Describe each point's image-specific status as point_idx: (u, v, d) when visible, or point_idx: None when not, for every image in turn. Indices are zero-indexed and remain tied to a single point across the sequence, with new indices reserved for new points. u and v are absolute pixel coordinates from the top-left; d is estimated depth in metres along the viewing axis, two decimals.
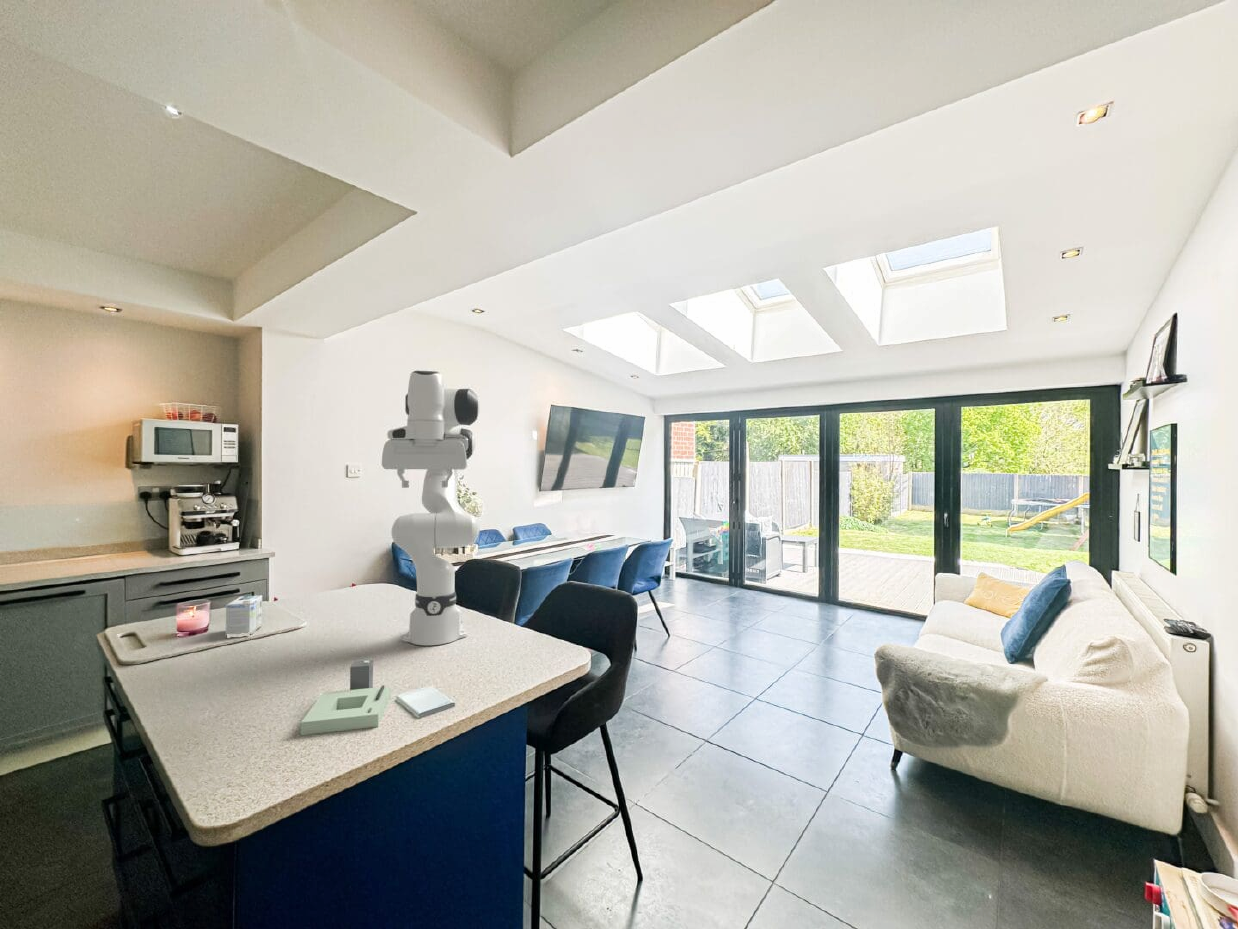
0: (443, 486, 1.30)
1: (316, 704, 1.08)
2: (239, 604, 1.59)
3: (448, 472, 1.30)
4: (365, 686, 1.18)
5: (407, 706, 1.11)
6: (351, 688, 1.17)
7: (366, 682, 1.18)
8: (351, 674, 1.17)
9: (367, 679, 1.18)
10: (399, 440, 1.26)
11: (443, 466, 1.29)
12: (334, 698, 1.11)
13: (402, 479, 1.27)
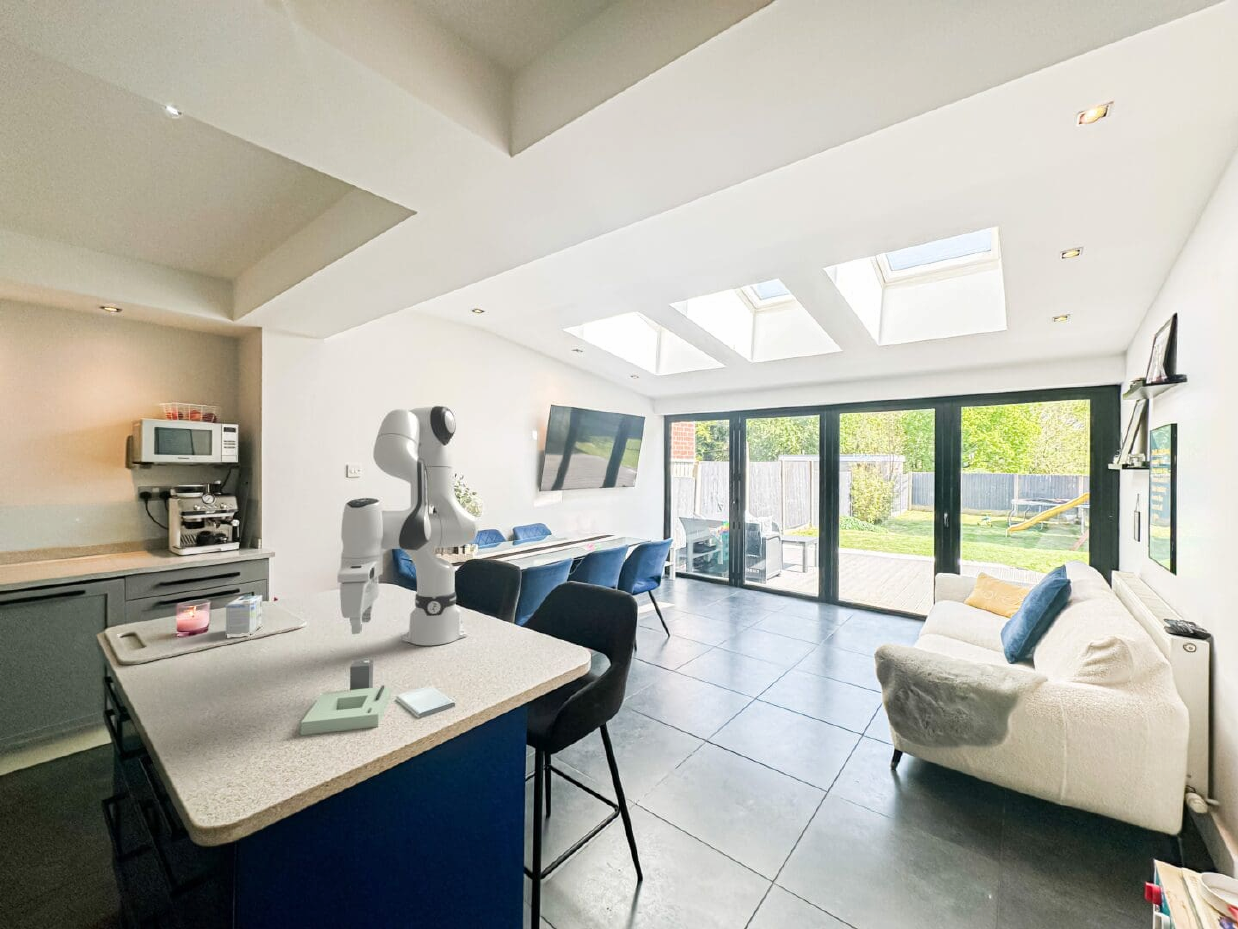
0: (369, 620, 1.24)
1: (316, 704, 1.08)
2: (239, 604, 1.59)
3: (371, 604, 1.25)
4: (365, 686, 1.18)
5: (407, 706, 1.11)
6: (351, 688, 1.17)
7: (366, 682, 1.18)
8: (351, 674, 1.17)
9: (367, 679, 1.18)
10: (369, 580, 1.15)
11: (374, 599, 1.24)
12: (334, 698, 1.11)
13: (360, 624, 1.14)
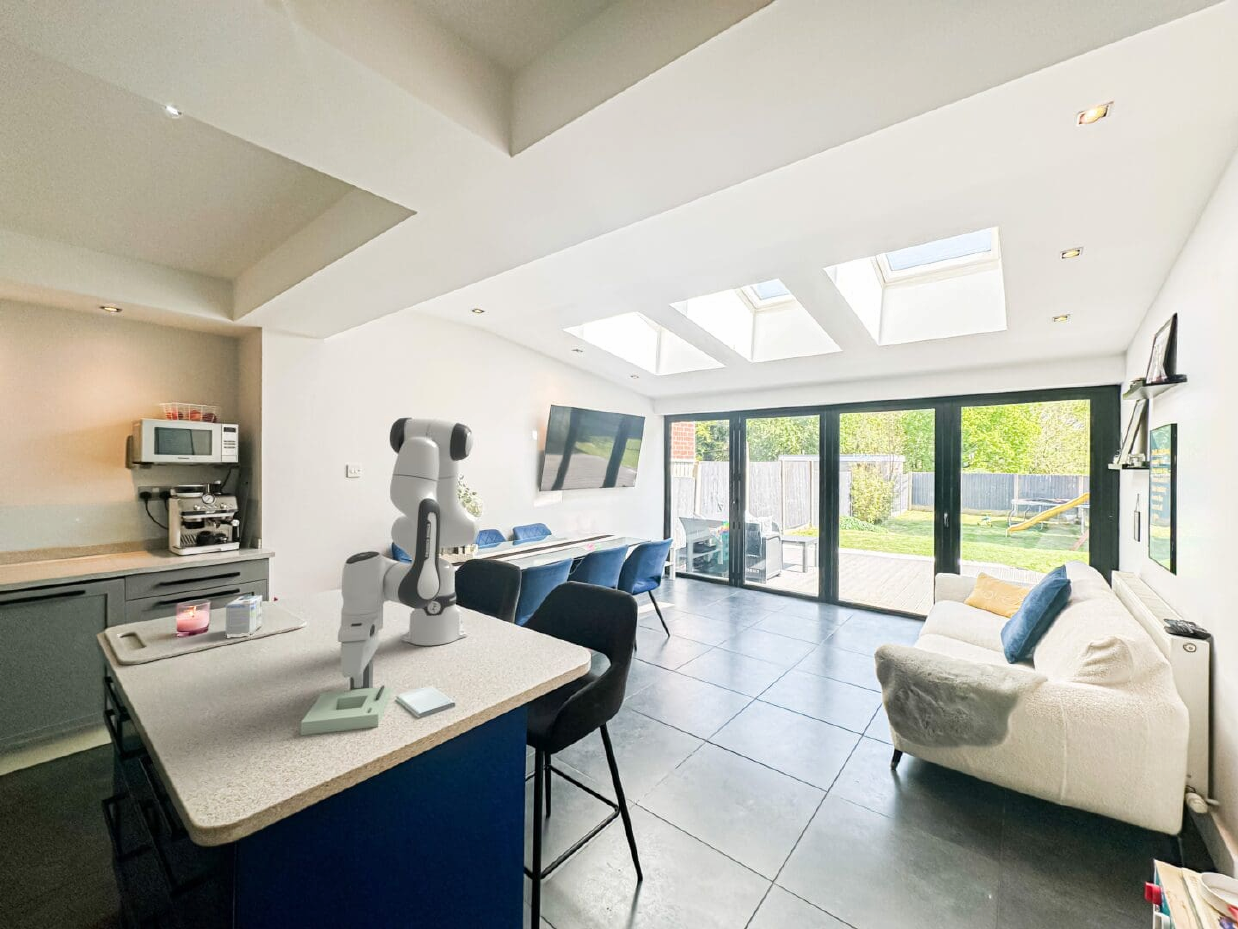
0: None
1: (316, 704, 1.08)
2: (239, 604, 1.59)
3: None
4: (365, 685, 1.18)
5: (407, 706, 1.11)
6: (351, 688, 1.17)
7: (366, 682, 1.18)
8: None
9: (367, 679, 1.18)
10: None
11: (374, 651, 1.24)
12: (334, 698, 1.11)
13: (362, 677, 1.16)
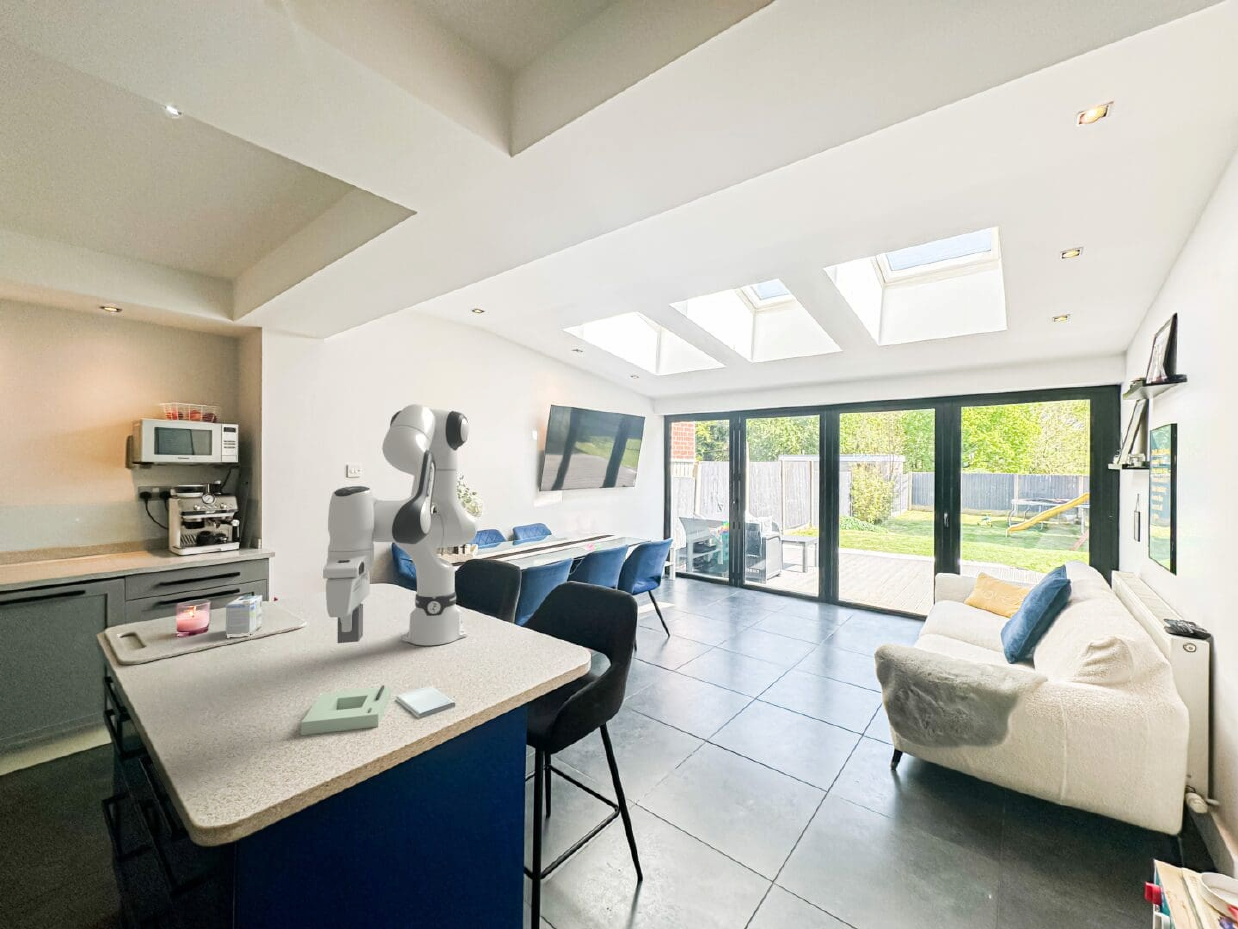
0: None
1: (316, 704, 1.08)
2: (239, 604, 1.59)
3: None
4: (355, 630, 1.07)
5: (407, 706, 1.11)
6: (339, 633, 1.07)
7: (355, 626, 1.07)
8: (339, 617, 1.07)
9: (356, 623, 1.07)
10: (358, 576, 1.04)
11: (364, 596, 1.14)
12: (334, 698, 1.11)
13: (351, 621, 1.06)
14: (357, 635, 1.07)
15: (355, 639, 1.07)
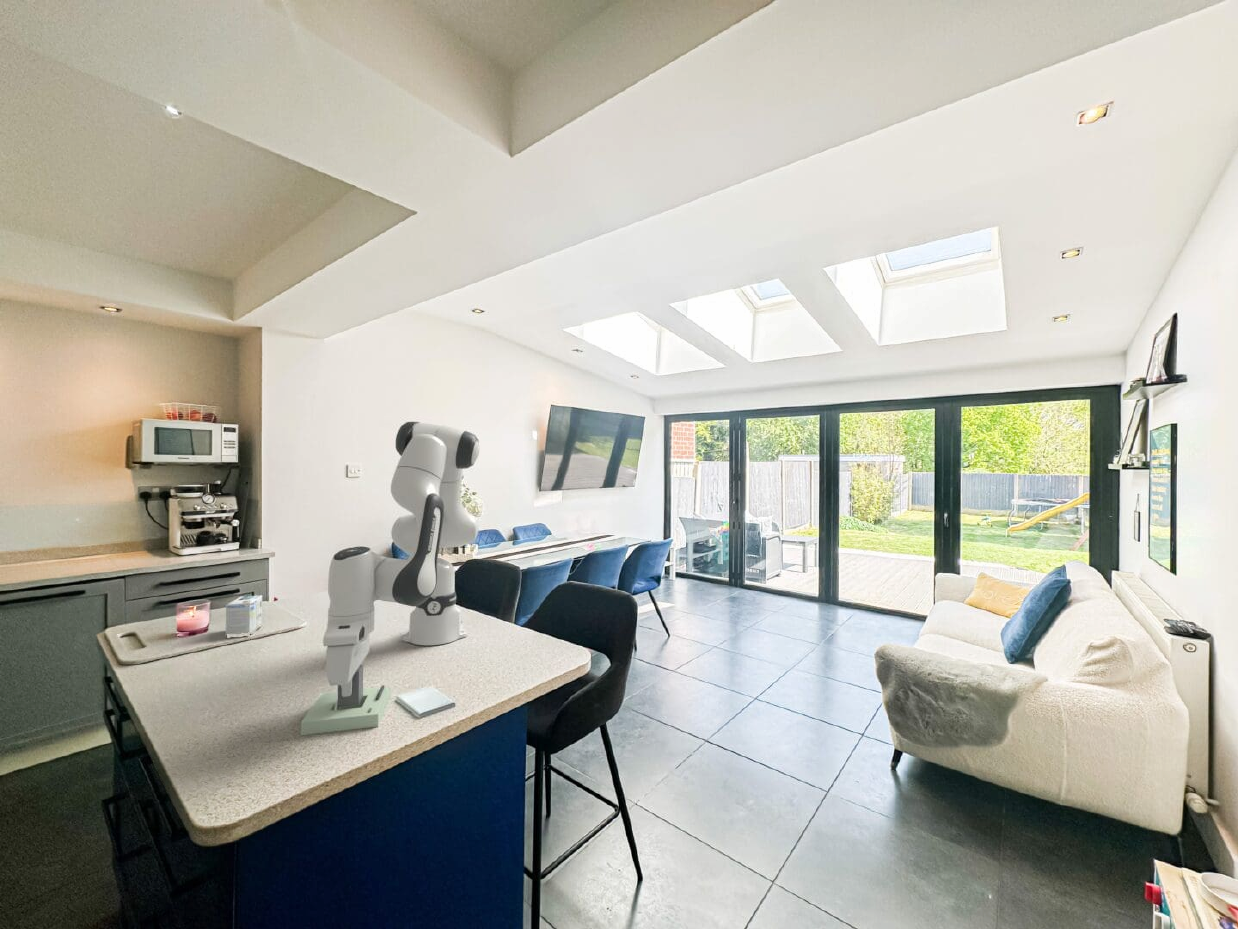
0: None
1: (316, 704, 1.08)
2: (239, 604, 1.59)
3: None
4: (355, 694, 1.07)
5: (407, 706, 1.11)
6: (339, 696, 1.06)
7: (355, 690, 1.07)
8: None
9: (357, 686, 1.07)
10: (358, 641, 1.04)
11: (364, 656, 1.14)
12: (334, 698, 1.11)
13: (351, 685, 1.06)
14: (357, 698, 1.07)
15: (355, 702, 1.07)
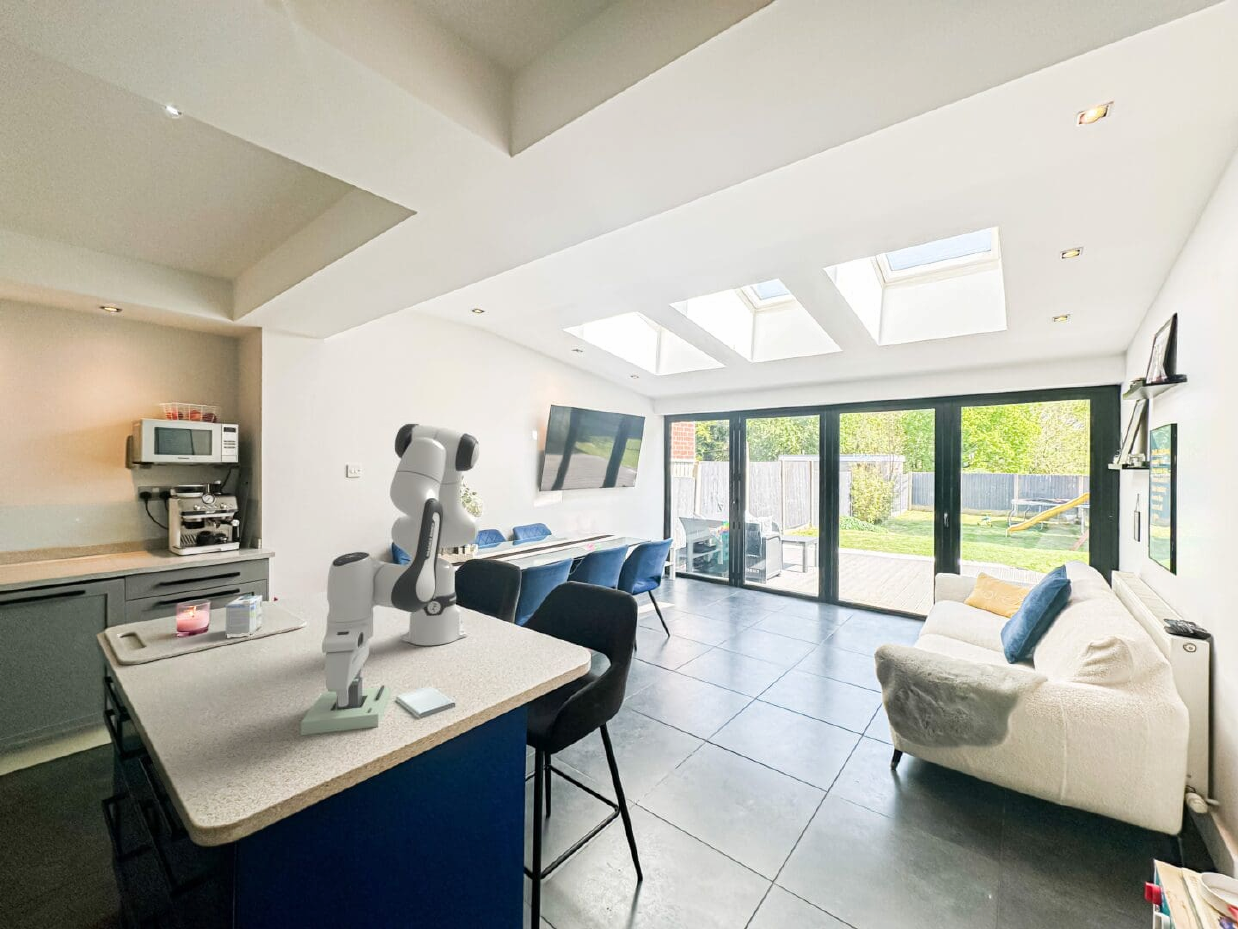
0: None
1: (316, 704, 1.08)
2: (239, 604, 1.59)
3: (361, 666, 1.15)
4: (354, 707, 1.07)
5: (407, 706, 1.11)
6: None
7: (354, 703, 1.07)
8: None
9: (356, 699, 1.07)
10: (357, 647, 1.04)
11: (363, 661, 1.14)
12: (334, 698, 1.11)
13: (347, 695, 1.04)
14: None
15: None
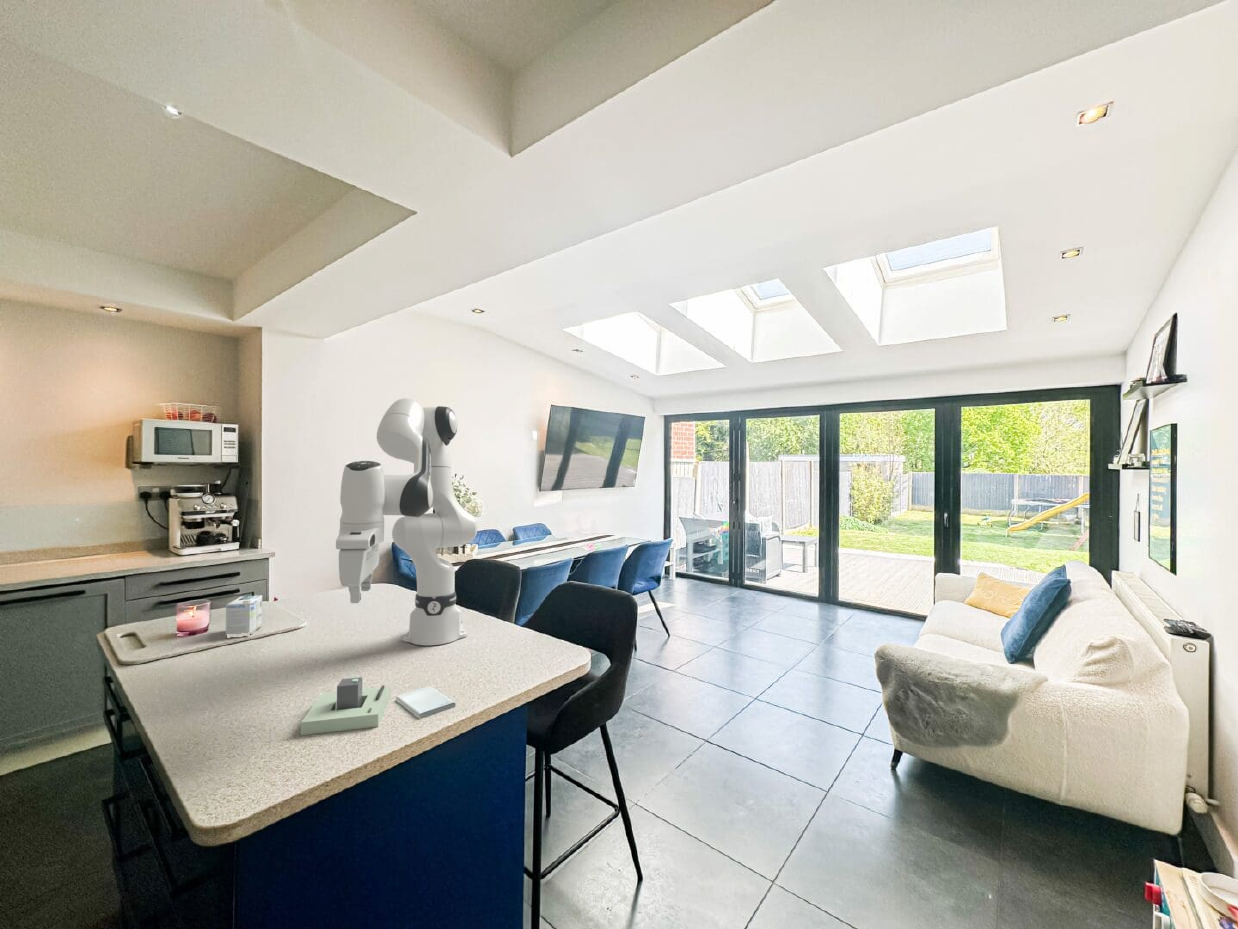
0: (369, 589, 1.18)
1: (316, 704, 1.08)
2: (239, 604, 1.59)
3: (371, 572, 1.19)
4: (354, 707, 1.07)
5: (407, 706, 1.11)
6: None
7: (354, 703, 1.07)
8: (338, 694, 1.06)
9: (356, 699, 1.07)
10: (369, 548, 1.08)
11: (374, 567, 1.18)
12: (334, 698, 1.11)
13: (359, 593, 1.09)
14: None
15: None
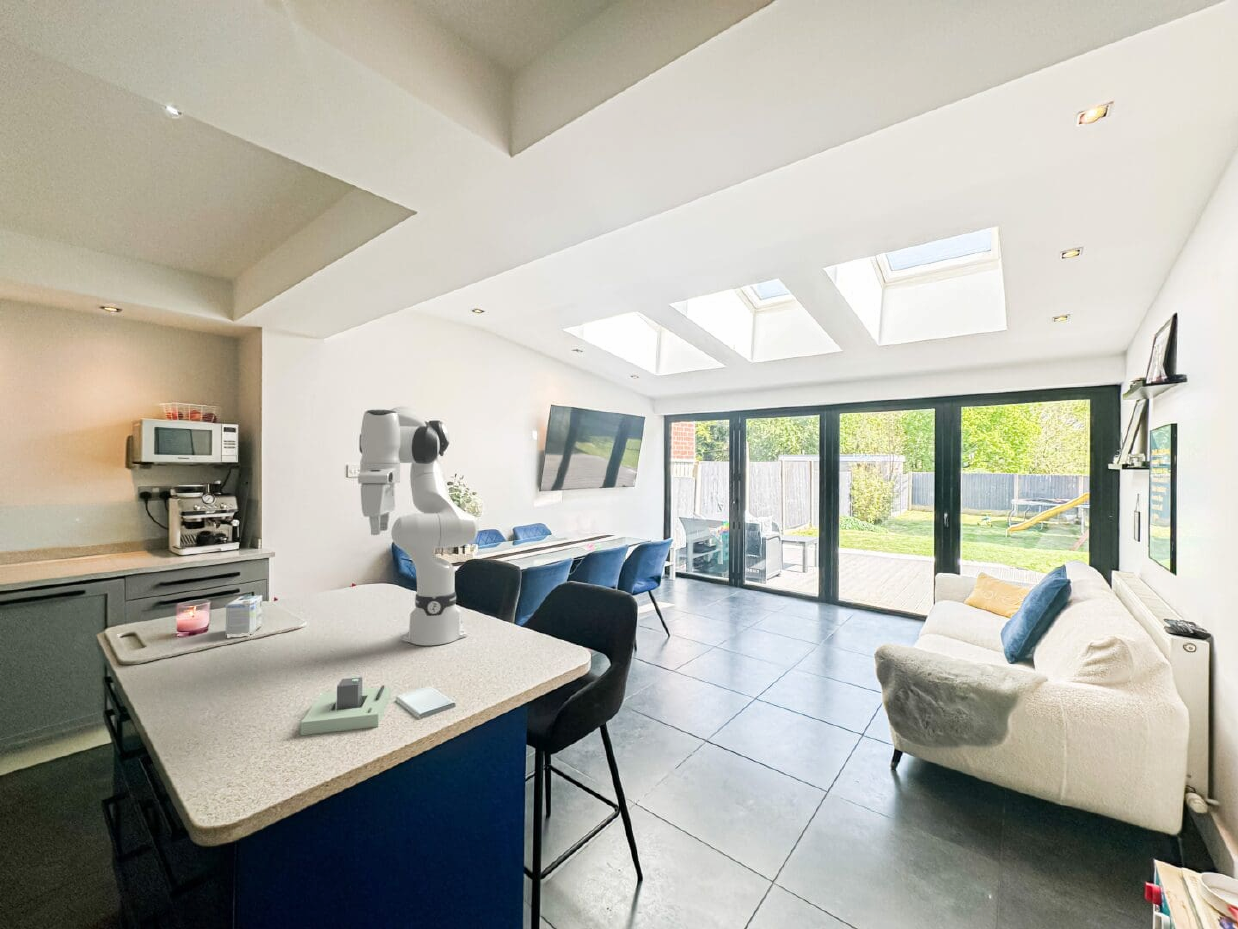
0: (386, 529, 1.28)
1: (316, 704, 1.08)
2: (239, 604, 1.59)
3: (388, 514, 1.29)
4: (354, 707, 1.07)
5: (407, 707, 1.11)
6: None
7: (354, 703, 1.07)
8: (338, 694, 1.06)
9: (356, 699, 1.07)
10: (387, 484, 1.19)
11: (391, 508, 1.28)
12: (334, 698, 1.11)
13: (379, 526, 1.19)
14: None
15: None
